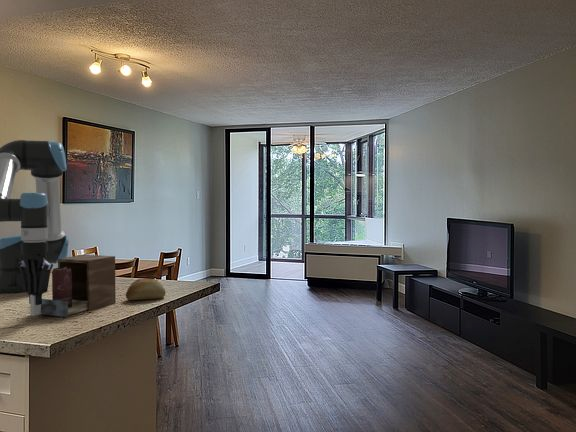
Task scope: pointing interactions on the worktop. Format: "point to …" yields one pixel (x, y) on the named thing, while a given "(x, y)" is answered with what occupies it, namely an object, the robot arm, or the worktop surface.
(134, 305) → the worktop surface
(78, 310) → the tray
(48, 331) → the worktop surface
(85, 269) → the box
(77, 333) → the worktop surface
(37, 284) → the robot arm
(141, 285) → the bread roll
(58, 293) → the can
